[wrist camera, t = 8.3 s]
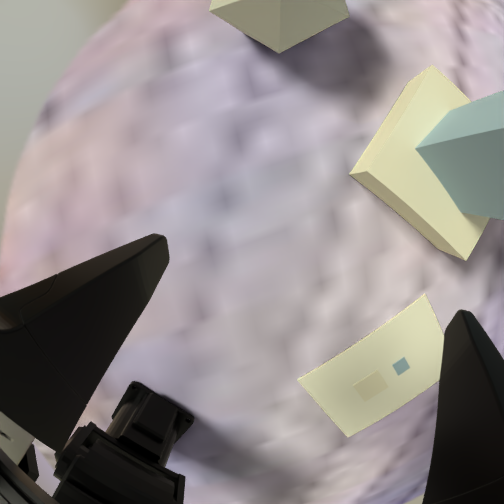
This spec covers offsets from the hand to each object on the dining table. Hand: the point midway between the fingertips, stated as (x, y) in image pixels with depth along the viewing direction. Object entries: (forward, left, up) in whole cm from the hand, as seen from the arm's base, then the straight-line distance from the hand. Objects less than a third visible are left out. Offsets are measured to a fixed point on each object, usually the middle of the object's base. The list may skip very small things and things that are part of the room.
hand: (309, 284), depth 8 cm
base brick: (+10, -6, -12) cm, 17 cm away
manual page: (-5, -14, -12) cm, 19 cm away
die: (+13, +9, -13) cm, 20 cm away
